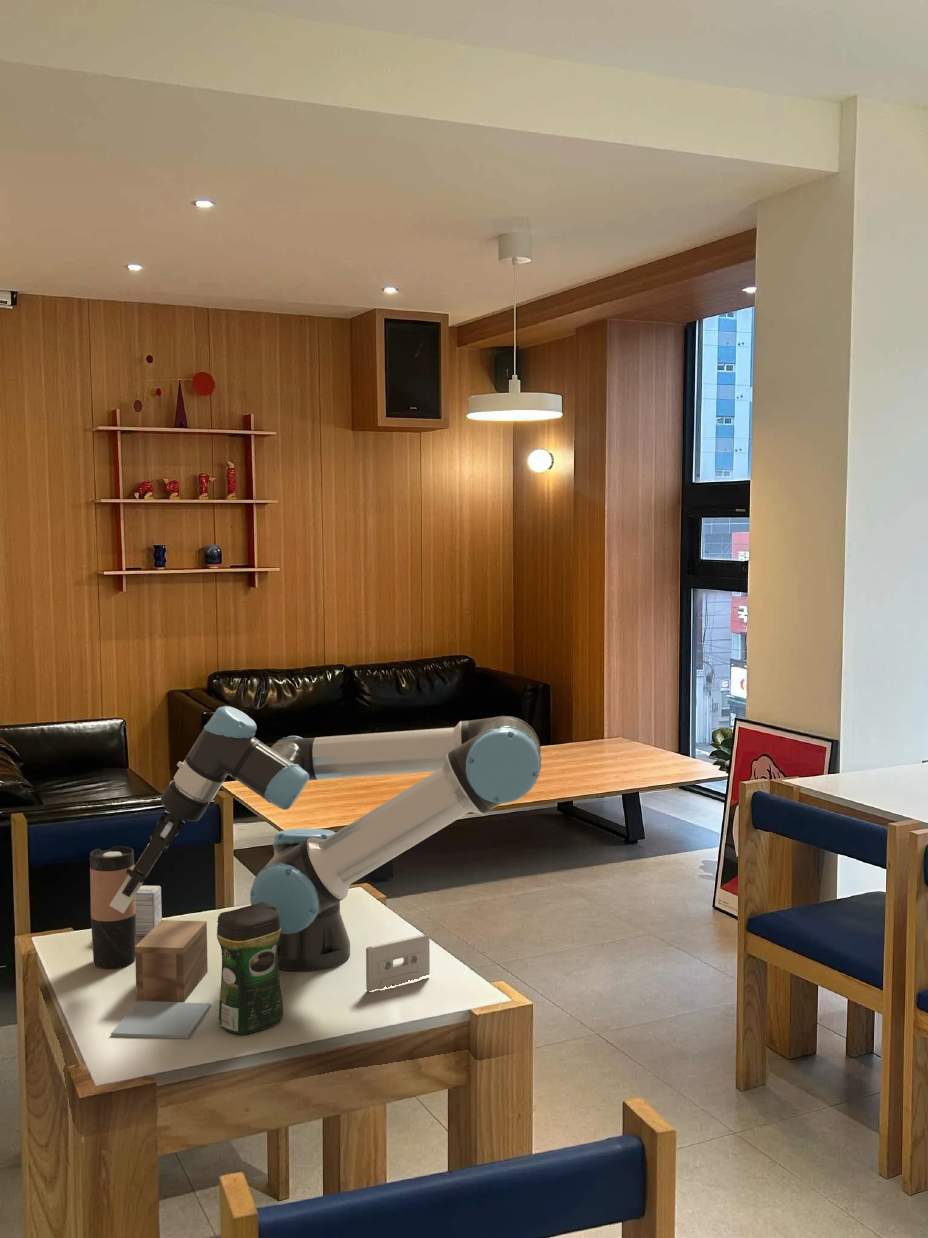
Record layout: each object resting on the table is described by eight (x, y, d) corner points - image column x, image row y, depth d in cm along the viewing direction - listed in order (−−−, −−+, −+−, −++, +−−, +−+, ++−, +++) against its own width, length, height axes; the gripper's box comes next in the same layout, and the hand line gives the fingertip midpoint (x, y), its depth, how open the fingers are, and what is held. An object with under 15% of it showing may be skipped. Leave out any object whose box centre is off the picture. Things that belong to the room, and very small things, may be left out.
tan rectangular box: (207, 971, 201) (206, 921, 200) (184, 1002, 188) (183, 948, 188) (162, 970, 202) (161, 920, 201) (136, 1000, 189) (135, 946, 188)
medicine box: (162, 929, 223) (161, 885, 222) (155, 937, 219) (154, 892, 218) (122, 928, 223) (121, 885, 223) (114, 936, 219) (113, 892, 218)
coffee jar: (262, 1007, 186) (260, 894, 185) (291, 1022, 180) (289, 906, 179) (209, 1025, 179) (207, 908, 178) (238, 1041, 174) (236, 920, 172)
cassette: (369, 995, 191) (369, 950, 191) (364, 991, 193) (364, 946, 192) (431, 979, 198) (431, 936, 197) (425, 976, 199) (425, 933, 199)
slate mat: (211, 1006, 186) (211, 1003, 186) (188, 1038, 174) (188, 1035, 174) (139, 1004, 187) (139, 1001, 187) (111, 1036, 175) (111, 1033, 175)
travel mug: (123, 971, 201) (121, 859, 200) (83, 968, 203) (80, 856, 201) (144, 955, 209) (142, 847, 207) (105, 952, 210) (103, 845, 209)
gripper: (186, 759, 206) (125, 856, 208) (155, 801, 181) (87, 911, 183) (222, 780, 207) (161, 877, 209) (197, 825, 182) (128, 934, 184)
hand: (126, 893), depth 196 cm, fingers open, 13 cm apart
